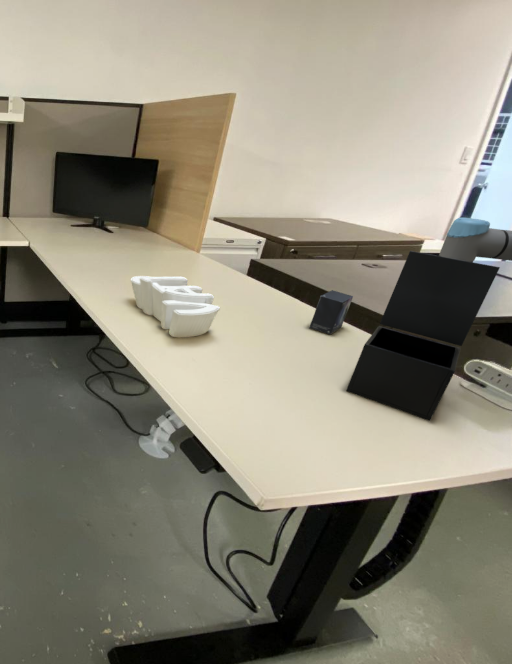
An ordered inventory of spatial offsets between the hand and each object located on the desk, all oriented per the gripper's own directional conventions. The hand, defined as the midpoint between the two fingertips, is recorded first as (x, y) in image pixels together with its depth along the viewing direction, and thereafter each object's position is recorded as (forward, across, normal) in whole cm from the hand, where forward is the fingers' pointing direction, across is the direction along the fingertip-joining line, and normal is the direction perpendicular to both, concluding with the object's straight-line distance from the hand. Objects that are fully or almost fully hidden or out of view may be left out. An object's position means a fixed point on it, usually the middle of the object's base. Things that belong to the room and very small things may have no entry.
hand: (433, 301), depth 105 cm
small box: (-22, +22, -20) cm, 37 cm away
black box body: (+10, 0, -20) cm, 22 cm away
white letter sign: (+13, +56, -20) cm, 61 cm away
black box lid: (+1, 0, +1) cm, 2 cm away
